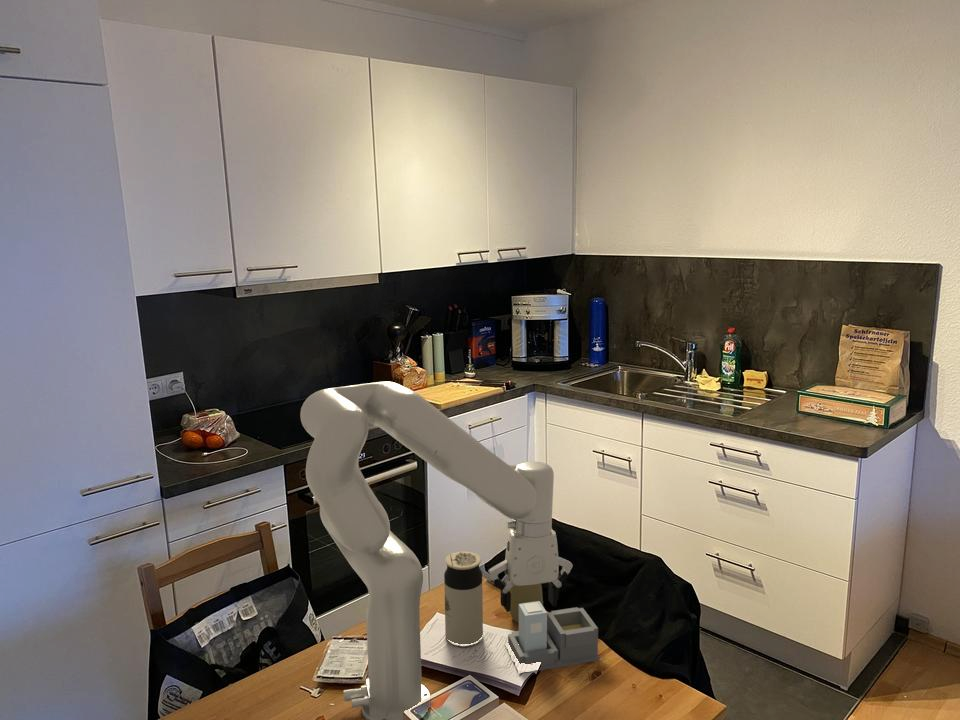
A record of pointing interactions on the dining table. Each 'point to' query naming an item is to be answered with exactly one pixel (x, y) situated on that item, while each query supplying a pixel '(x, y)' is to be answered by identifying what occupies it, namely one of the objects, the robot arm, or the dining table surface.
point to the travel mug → (463, 598)
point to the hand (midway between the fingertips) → (529, 605)
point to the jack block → (563, 640)
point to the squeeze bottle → (524, 597)
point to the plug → (532, 627)
